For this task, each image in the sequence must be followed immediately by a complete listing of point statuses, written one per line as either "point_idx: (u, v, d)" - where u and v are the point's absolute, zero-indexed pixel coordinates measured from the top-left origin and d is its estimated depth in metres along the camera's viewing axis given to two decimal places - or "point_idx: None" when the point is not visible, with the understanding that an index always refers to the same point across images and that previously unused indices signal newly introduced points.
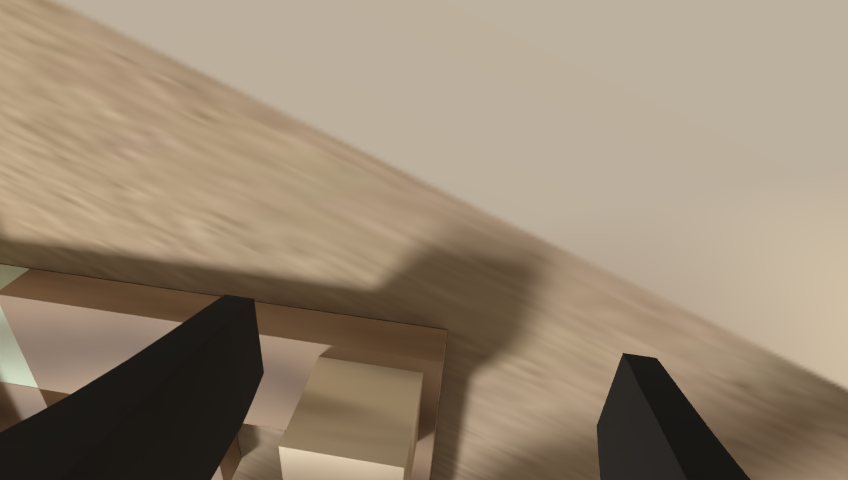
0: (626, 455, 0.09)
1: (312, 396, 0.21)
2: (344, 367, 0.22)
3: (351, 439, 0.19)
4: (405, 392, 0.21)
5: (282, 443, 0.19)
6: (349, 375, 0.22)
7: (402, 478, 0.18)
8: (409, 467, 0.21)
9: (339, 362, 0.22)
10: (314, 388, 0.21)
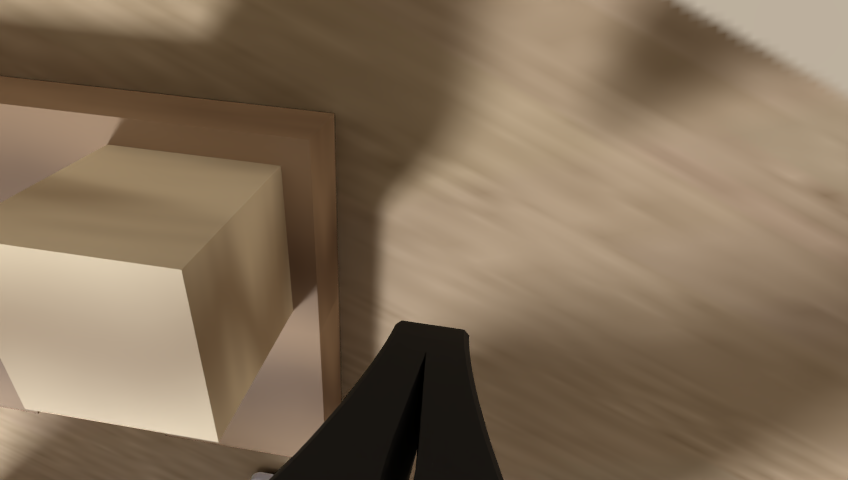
0: None
1: (61, 182, 0.11)
2: (144, 155, 0.13)
3: (98, 231, 0.10)
4: (237, 183, 0.12)
5: None
6: (147, 163, 0.12)
7: (186, 298, 0.09)
8: (246, 319, 0.12)
9: (139, 151, 0.13)
10: (72, 174, 0.12)
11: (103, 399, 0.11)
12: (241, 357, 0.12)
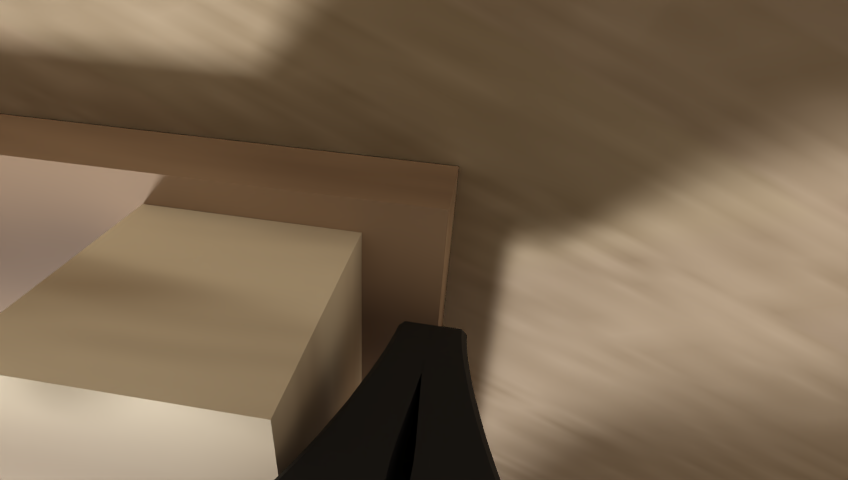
0: (417, 421, 0.09)
1: (91, 265, 0.09)
2: (191, 220, 0.10)
3: (147, 349, 0.07)
4: (314, 262, 0.09)
5: None
6: (196, 233, 0.10)
7: (273, 451, 0.07)
8: None
9: (184, 214, 0.10)
10: (104, 252, 0.09)
11: None
12: None
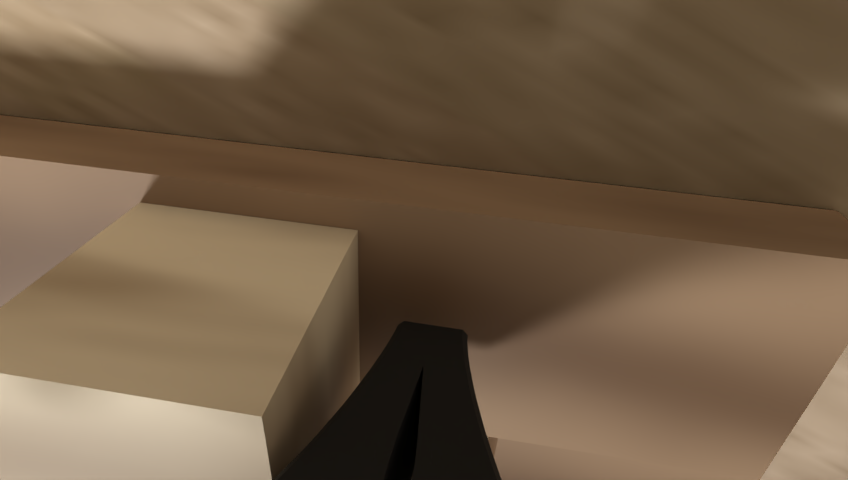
0: (418, 421, 0.09)
1: (87, 263, 0.09)
2: (187, 219, 0.10)
3: (141, 346, 0.07)
4: (309, 260, 0.09)
5: None
6: (192, 231, 0.10)
7: (265, 448, 0.07)
8: None
9: (180, 212, 0.10)
10: (100, 250, 0.09)
11: None
12: None
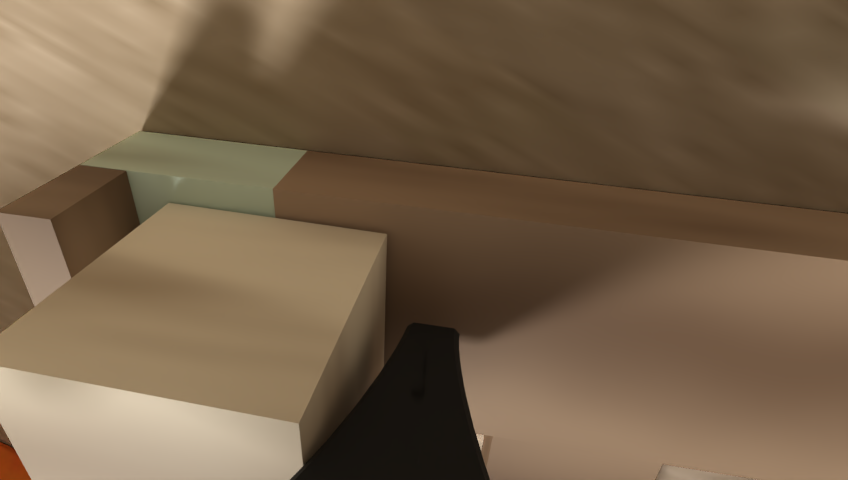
0: None
1: (119, 263, 0.09)
2: (216, 220, 0.10)
3: (174, 349, 0.07)
4: (340, 263, 0.09)
5: None
6: (222, 232, 0.10)
7: (300, 455, 0.07)
8: None
9: (209, 212, 0.10)
10: (131, 250, 0.09)
11: None
12: None
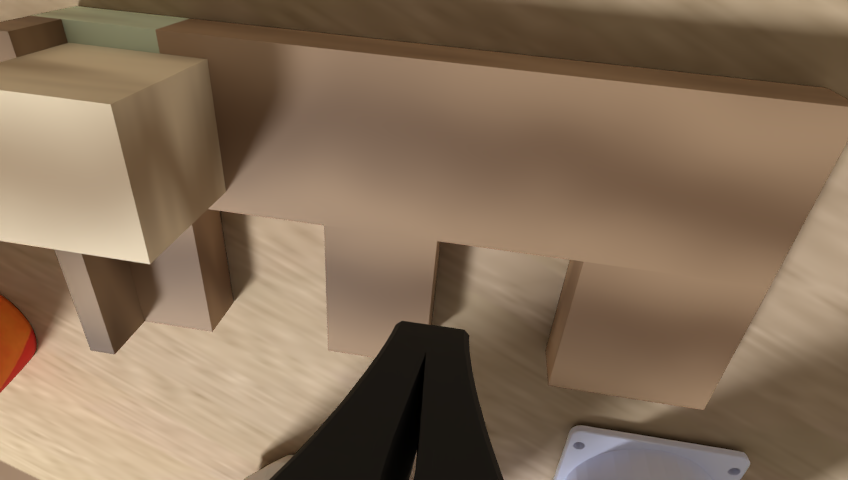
0: None
1: (28, 60, 0.14)
2: (97, 49, 0.16)
3: (52, 84, 0.13)
4: (168, 66, 0.15)
5: None
6: (99, 53, 0.15)
7: (116, 130, 0.12)
8: (175, 174, 0.15)
9: (94, 47, 0.16)
10: (37, 56, 0.15)
11: (60, 227, 0.14)
12: (170, 204, 0.15)
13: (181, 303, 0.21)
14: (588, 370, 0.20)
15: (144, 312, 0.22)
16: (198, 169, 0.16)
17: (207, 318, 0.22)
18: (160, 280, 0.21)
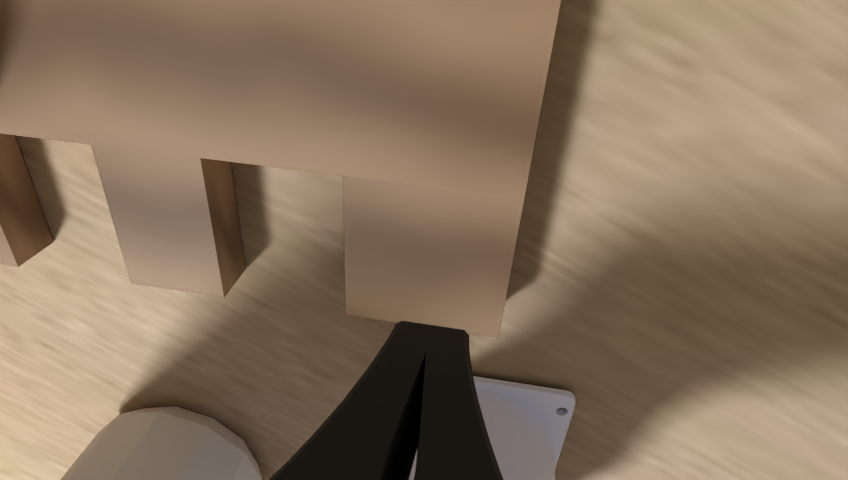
0: None
1: None
2: None
3: None
4: None
5: None
6: None
7: None
8: None
9: None
10: None
11: None
12: None
13: None
14: (378, 297, 0.20)
15: None
16: None
17: (9, 251, 0.22)
18: None
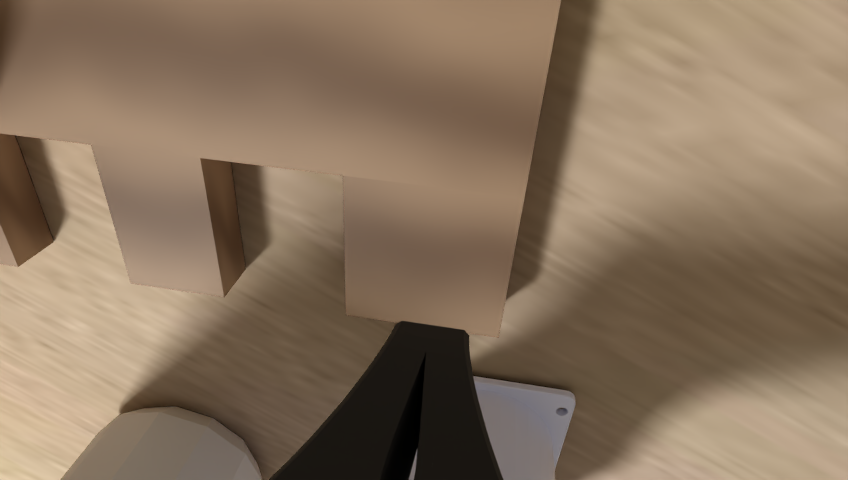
0: None
1: None
2: None
3: None
4: None
5: None
6: None
7: None
8: None
9: None
10: None
11: None
12: None
13: None
14: (378, 297, 0.20)
15: None
16: None
17: (9, 251, 0.22)
18: None
